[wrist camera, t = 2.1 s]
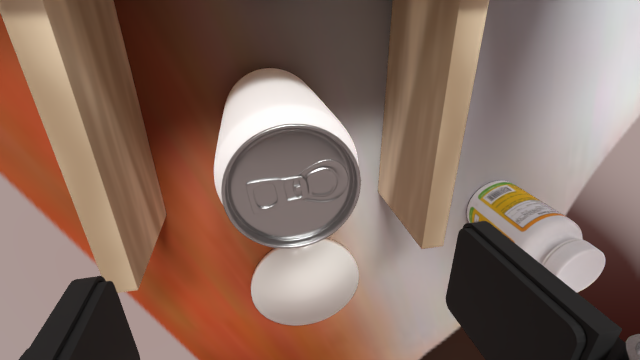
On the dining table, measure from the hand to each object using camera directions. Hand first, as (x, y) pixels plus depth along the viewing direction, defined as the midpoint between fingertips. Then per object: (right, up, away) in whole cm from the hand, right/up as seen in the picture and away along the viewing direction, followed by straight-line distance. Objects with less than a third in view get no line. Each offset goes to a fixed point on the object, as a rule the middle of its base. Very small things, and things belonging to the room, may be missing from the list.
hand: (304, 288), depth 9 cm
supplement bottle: (+17, +1, +23) cm, 28 cm away
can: (-3, +8, +15) cm, 17 cm away
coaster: (-1, -6, +22) cm, 23 cm away
